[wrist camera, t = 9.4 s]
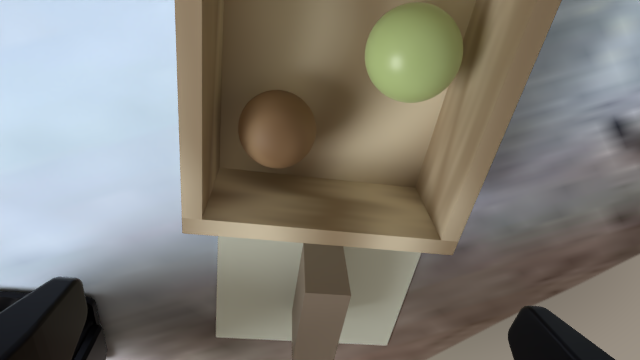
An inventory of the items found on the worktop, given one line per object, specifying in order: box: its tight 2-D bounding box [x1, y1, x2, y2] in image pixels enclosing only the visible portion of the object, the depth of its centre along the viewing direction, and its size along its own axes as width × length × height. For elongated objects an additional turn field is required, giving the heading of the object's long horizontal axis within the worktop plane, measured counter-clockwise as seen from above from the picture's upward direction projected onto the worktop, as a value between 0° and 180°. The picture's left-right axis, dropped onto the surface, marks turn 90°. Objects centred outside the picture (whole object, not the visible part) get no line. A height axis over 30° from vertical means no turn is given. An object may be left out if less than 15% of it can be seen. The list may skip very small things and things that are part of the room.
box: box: [175, 0, 562, 255], centre depth 16 cm, size 12×12×5 cm
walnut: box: [238, 90, 316, 168], centre depth 17 cm, size 3×3×3 cm
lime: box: [365, 2, 463, 103], centre depth 16 cm, size 4×4×4 cm
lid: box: [216, 236, 421, 360], centre depth 24 cm, size 12×12×5 cm
